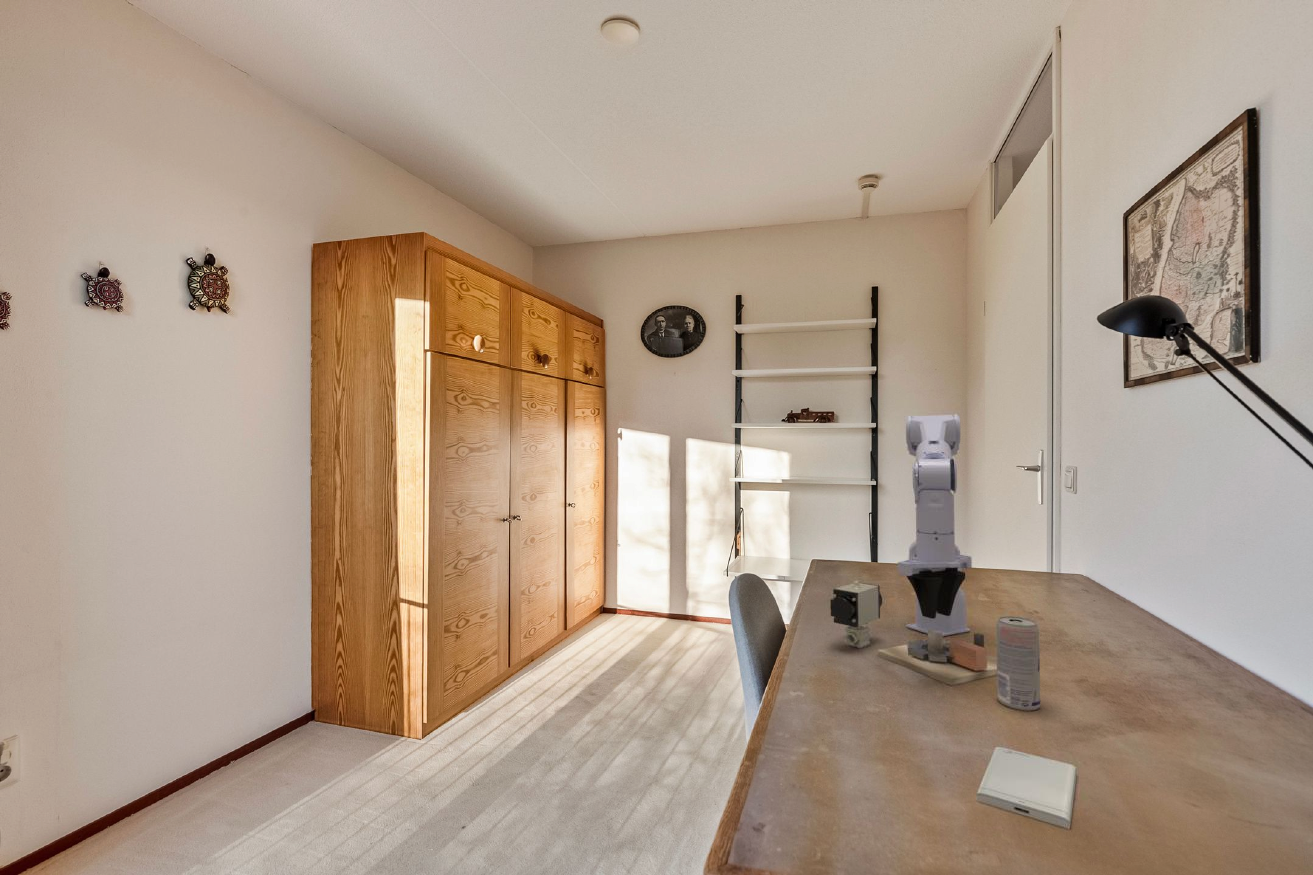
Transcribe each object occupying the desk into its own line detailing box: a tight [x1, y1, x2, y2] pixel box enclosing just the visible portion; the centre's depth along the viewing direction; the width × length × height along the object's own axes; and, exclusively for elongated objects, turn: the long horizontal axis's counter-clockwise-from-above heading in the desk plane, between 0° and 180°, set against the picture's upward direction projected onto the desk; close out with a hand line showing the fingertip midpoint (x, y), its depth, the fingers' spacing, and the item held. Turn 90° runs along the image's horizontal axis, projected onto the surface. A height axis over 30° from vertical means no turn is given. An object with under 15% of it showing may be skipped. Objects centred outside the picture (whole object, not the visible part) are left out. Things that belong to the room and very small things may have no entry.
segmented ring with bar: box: [906, 639, 988, 671], centre depth 106 cm, size 14×9×3 cm, turn 25°
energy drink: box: [995, 615, 1041, 712], centre depth 90 cm, size 5×5×12 cm
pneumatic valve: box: [829, 580, 883, 650], centre depth 117 cm, size 6×12×12 cm, turn 133°
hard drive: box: [976, 746, 1078, 830], centre depth 68 cm, size 2×8×12 cm
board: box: [876, 630, 997, 686], centre depth 107 cm, size 15×16×5 cm
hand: (936, 615), depth 100 cm, fingers open, 3 cm apart
